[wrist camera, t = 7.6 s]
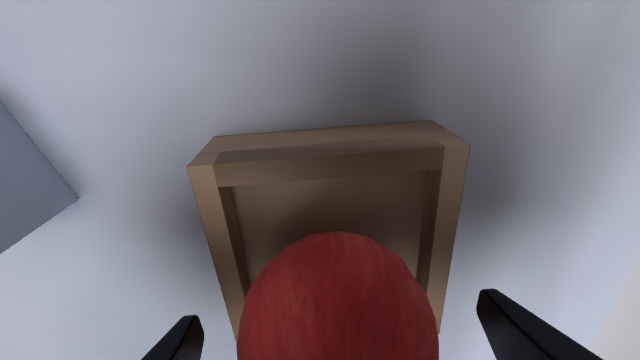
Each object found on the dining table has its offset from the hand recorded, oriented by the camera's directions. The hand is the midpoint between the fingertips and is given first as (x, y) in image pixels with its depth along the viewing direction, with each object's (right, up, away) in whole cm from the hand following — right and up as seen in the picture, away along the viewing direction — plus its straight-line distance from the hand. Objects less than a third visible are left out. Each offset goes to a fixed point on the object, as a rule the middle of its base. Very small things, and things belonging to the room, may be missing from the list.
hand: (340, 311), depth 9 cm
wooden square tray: (0, +2, +5) cm, 6 cm away
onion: (0, +1, +3) cm, 3 cm away
